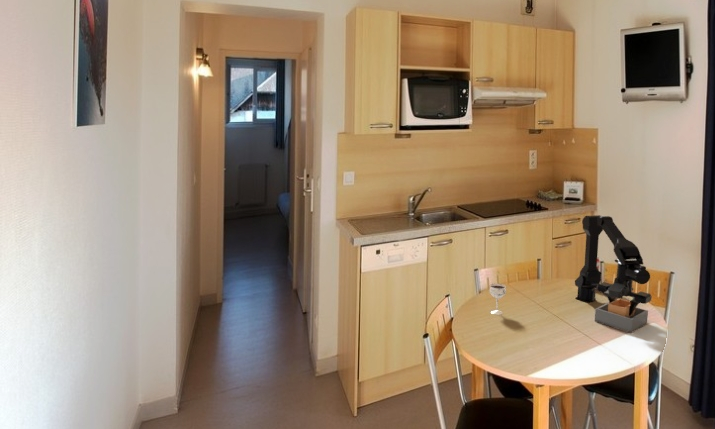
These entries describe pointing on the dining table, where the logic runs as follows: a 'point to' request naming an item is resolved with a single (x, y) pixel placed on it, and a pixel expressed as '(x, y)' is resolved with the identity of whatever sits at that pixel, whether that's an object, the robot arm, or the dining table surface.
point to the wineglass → (497, 295)
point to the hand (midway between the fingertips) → (621, 312)
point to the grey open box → (621, 319)
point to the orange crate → (620, 307)
